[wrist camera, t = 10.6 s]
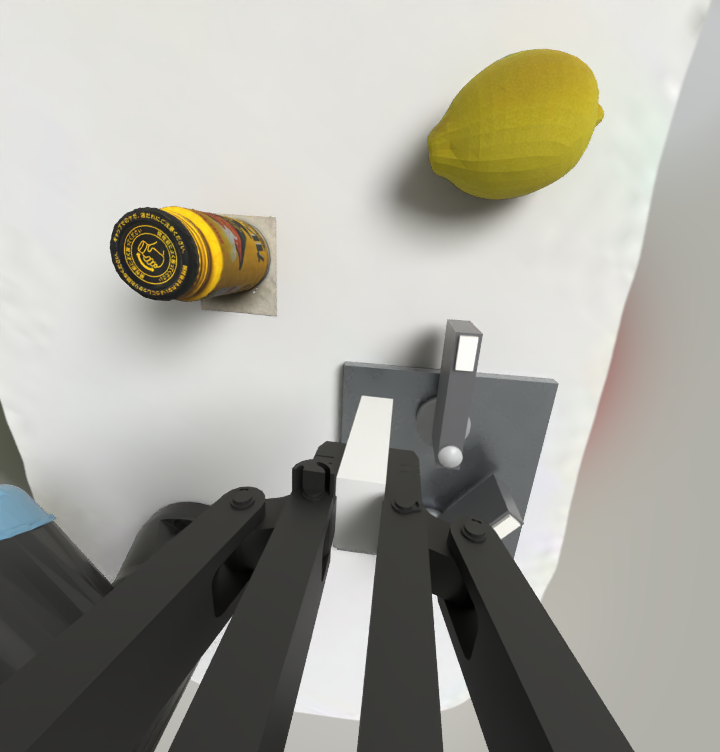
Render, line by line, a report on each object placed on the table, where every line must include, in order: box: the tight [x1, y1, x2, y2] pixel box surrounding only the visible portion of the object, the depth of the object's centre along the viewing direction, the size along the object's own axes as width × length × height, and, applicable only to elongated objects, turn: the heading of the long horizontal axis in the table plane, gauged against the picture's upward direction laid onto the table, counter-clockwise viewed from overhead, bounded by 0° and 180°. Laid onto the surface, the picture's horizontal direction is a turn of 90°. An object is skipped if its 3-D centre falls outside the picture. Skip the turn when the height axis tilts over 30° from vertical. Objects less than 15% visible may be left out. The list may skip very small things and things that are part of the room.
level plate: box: [337, 362, 558, 559], centre depth 35 cm, size 22×19×2 cm
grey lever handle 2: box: [425, 474, 524, 539], centre depth 33 cm, size 12×5×6 cm, turn 140°
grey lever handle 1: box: [416, 319, 483, 470], centre depth 29 cm, size 12×5×6 cm, turn 177°
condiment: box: [110, 206, 277, 316], centre depth 26 cm, size 7×8×12 cm
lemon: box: [427, 49, 604, 200], centre depth 23 cm, size 11×8×8 cm
